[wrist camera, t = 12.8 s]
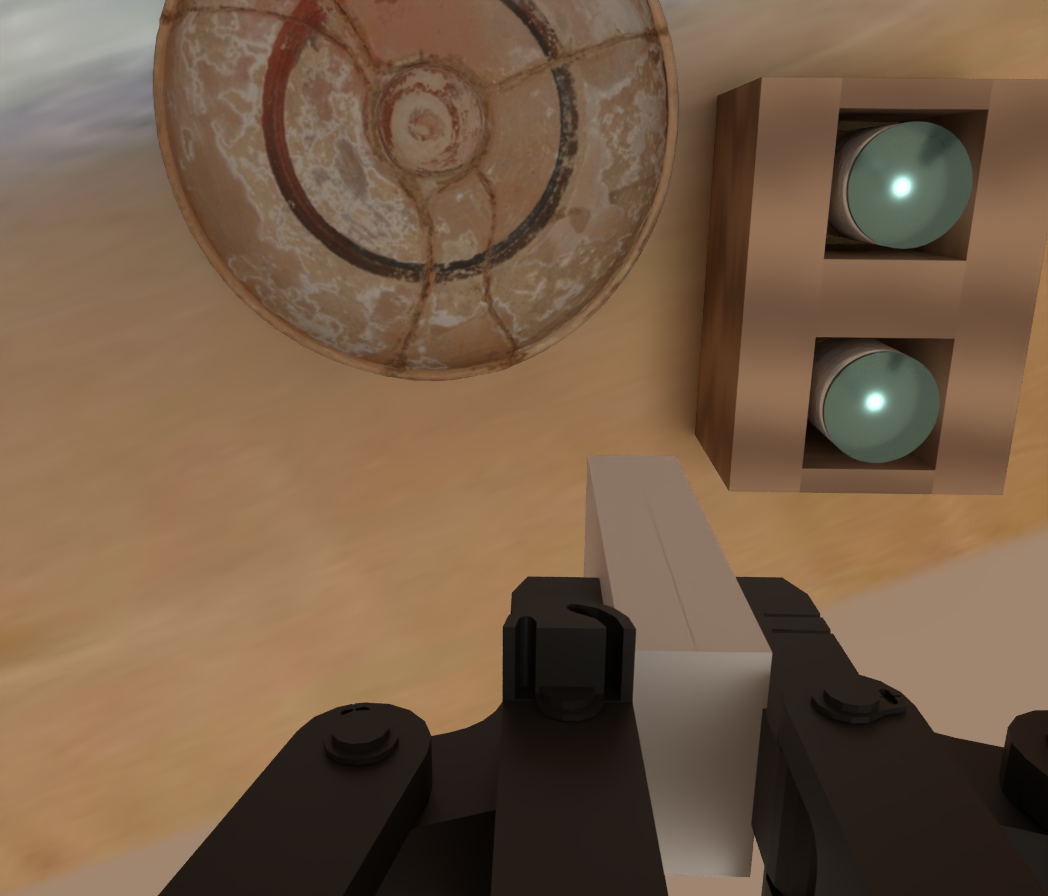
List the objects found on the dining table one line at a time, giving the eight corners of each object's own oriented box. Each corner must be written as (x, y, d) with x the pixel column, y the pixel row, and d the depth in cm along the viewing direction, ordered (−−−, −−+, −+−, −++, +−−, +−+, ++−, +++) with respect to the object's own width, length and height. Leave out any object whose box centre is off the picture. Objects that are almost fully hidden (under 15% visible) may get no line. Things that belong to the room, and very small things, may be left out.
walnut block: (717, 96, 44) (761, 76, 35) (968, 98, 44) (1074, 79, 35) (695, 434, 49) (729, 491, 40) (920, 437, 49) (1002, 495, 40)
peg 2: (778, 319, 46) (830, 351, 38) (874, 320, 46) (947, 353, 38) (770, 412, 47) (818, 462, 39) (863, 413, 47) (931, 463, 39)
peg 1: (795, 130, 43) (856, 120, 35) (897, 131, 43) (981, 122, 35) (786, 234, 44) (842, 248, 36) (884, 235, 44) (962, 249, 36)
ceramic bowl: (209, 355, 48) (173, 375, 43) (173, -157, 41) (125, -200, 36) (648, 369, 48) (660, 391, 43) (684, -142, 41) (704, -183, 36)
